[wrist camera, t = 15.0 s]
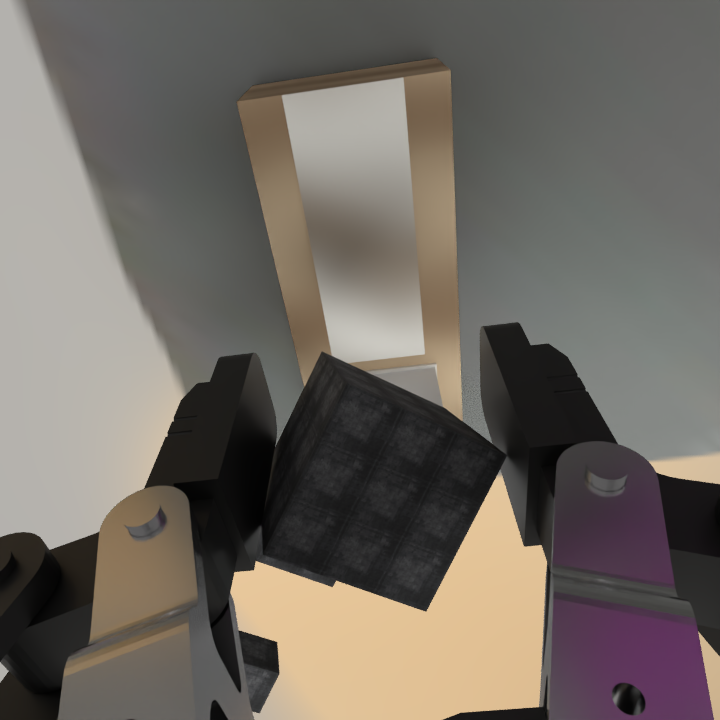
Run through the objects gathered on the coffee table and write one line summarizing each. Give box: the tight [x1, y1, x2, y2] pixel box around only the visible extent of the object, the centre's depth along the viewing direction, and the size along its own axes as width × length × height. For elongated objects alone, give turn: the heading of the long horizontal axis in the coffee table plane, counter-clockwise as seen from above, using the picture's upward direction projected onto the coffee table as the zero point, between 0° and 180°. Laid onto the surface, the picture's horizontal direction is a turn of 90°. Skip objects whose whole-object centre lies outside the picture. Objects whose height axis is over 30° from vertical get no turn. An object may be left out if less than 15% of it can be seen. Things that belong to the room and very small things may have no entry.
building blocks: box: [238, 352, 507, 713], centre depth 12 cm, size 3×6×8 cm
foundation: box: [237, 58, 462, 421], centre depth 20 cm, size 14×6×3 cm, turn 7°
